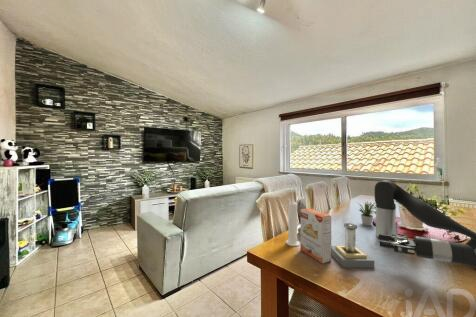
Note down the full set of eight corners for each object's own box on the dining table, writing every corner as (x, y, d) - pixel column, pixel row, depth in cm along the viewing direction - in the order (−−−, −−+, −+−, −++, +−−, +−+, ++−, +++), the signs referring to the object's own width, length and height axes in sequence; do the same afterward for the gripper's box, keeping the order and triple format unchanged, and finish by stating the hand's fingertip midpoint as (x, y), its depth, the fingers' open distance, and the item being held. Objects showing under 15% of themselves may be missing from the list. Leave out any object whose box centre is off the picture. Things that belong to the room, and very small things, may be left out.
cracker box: (299, 250, 97) (299, 208, 97) (308, 248, 100) (309, 207, 100) (321, 264, 84) (321, 216, 84) (331, 261, 87) (332, 215, 87)
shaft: (352, 257, 91) (353, 223, 91) (359, 263, 86) (359, 227, 86) (341, 257, 91) (341, 222, 91) (347, 263, 86) (347, 226, 86)
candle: (292, 247, 100) (292, 199, 100) (283, 242, 107) (283, 196, 107) (302, 244, 104) (302, 198, 104) (293, 239, 110) (293, 195, 110)
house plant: (386, 228, 128) (386, 203, 128) (365, 228, 128) (365, 203, 128) (371, 221, 142) (372, 199, 142) (352, 221, 142) (353, 199, 142)
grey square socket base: (356, 252, 95) (356, 244, 95) (374, 267, 82) (374, 257, 82) (329, 252, 95) (329, 243, 95) (343, 267, 82) (343, 257, 82)
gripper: (437, 267, 68) (380, 255, 77) (427, 251, 79) (378, 243, 89) (436, 245, 68) (379, 236, 77) (426, 233, 80) (378, 226, 89)
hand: (379, 239), depth 83 cm, fingers open, 8 cm apart
